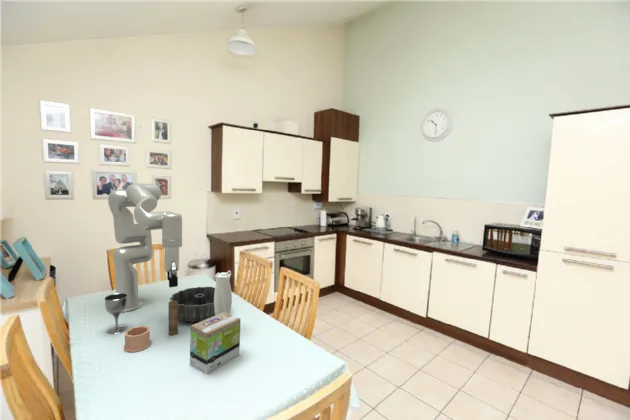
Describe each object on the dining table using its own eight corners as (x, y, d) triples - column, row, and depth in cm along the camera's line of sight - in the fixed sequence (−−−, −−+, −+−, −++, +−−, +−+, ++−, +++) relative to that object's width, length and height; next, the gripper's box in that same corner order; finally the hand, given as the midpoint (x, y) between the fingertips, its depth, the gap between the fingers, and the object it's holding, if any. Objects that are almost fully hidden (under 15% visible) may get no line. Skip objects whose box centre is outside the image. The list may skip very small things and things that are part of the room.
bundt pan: (212, 300, 163) (213, 282, 162) (237, 315, 145) (237, 296, 144) (162, 313, 145) (161, 293, 144) (182, 333, 126) (182, 311, 125)
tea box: (207, 375, 99) (207, 333, 98) (189, 365, 104) (189, 325, 103) (240, 354, 112) (241, 317, 111) (222, 346, 117) (223, 310, 116)
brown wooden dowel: (168, 332, 126) (168, 301, 125) (177, 331, 128) (177, 300, 127) (168, 336, 123) (168, 304, 122) (178, 334, 125) (178, 303, 123)
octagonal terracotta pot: (124, 343, 117) (124, 328, 116) (150, 337, 121) (150, 323, 121) (123, 354, 109) (122, 339, 108) (151, 348, 114) (151, 333, 113)
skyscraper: (235, 332, 128) (236, 270, 126) (219, 338, 123) (220, 273, 120) (225, 326, 133) (226, 266, 131) (210, 331, 128) (211, 269, 126)
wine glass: (116, 335, 122) (115, 301, 121) (100, 333, 123) (99, 298, 122) (132, 327, 130) (131, 294, 128) (116, 324, 131) (116, 292, 130)
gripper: (161, 240, 127) (161, 278, 129) (163, 247, 112) (163, 291, 114) (180, 238, 131) (180, 276, 132) (184, 246, 116) (184, 288, 118)
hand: (172, 283), depth 123 cm, fingers open, 9 cm apart
